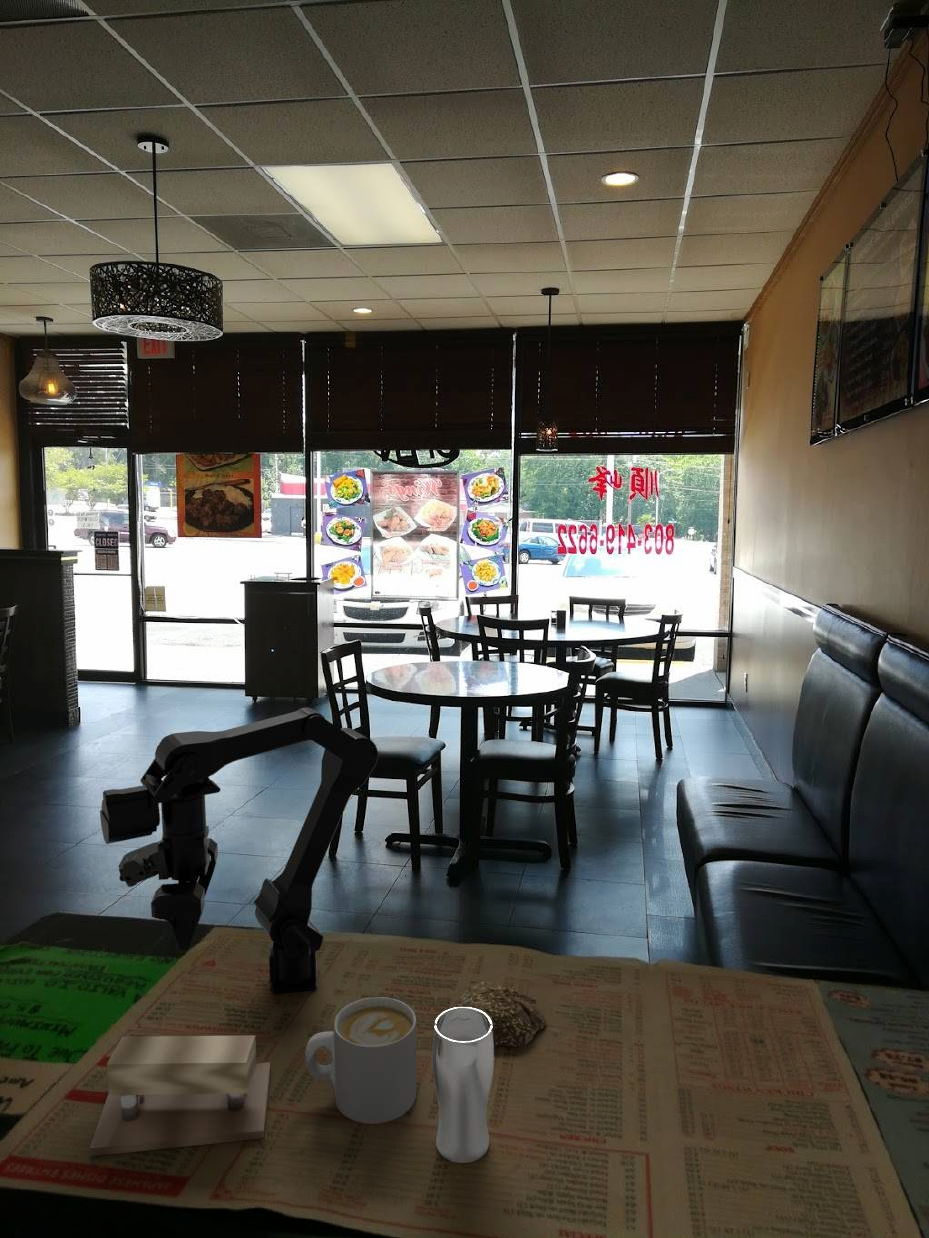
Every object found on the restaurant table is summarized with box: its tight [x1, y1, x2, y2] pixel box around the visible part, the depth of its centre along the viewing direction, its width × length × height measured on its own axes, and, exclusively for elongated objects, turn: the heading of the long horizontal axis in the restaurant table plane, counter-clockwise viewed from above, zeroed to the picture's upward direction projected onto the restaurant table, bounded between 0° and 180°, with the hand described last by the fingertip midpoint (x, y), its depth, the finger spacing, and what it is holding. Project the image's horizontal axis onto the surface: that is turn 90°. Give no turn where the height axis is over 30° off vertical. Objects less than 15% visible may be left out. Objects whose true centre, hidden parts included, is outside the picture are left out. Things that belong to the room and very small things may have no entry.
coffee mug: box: [304, 996, 417, 1125], centre depth 109 cm, size 13×10×10 cm
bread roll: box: [454, 981, 547, 1048], centre depth 124 cm, size 13×12×5 cm
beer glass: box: [431, 1006, 495, 1164], centre depth 100 cm, size 7×7×15 cm
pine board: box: [106, 1035, 257, 1095], centre depth 105 cm, size 16×5×4 cm, turn 91°
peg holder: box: [89, 1061, 271, 1157], centre depth 106 cm, size 19×12×4 cm, turn 99°
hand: (189, 933), depth 123 cm, fingers open, 9 cm apart
